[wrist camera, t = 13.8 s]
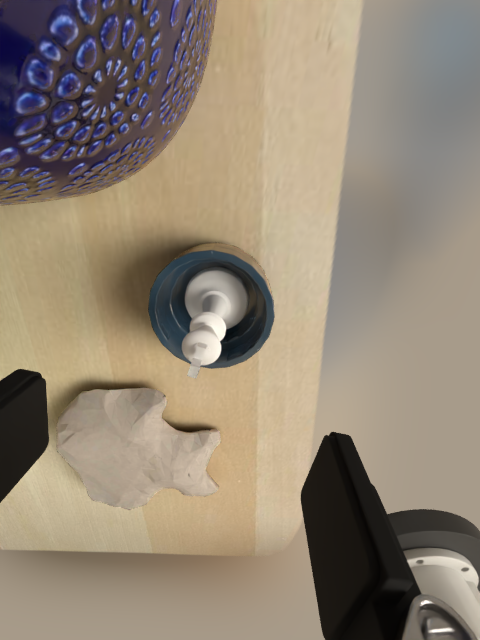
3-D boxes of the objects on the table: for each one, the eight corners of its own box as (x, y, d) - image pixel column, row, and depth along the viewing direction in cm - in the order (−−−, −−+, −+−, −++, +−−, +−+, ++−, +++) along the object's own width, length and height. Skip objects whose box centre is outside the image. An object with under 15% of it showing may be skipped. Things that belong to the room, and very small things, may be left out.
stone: (214, 537, 27) (51, 528, 26) (215, 503, 31) (72, 494, 30) (232, 404, 24) (45, 387, 23) (231, 383, 27) (69, 368, 26)
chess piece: (258, 279, 21) (265, 339, 12) (237, 335, 23) (229, 426, 14) (194, 257, 21) (150, 303, 11) (178, 316, 22) (129, 397, 13)
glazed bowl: (281, 255, 21) (289, 266, 17) (256, 351, 24) (257, 378, 20) (171, 230, 20) (154, 237, 17) (160, 331, 24) (143, 355, 20)
